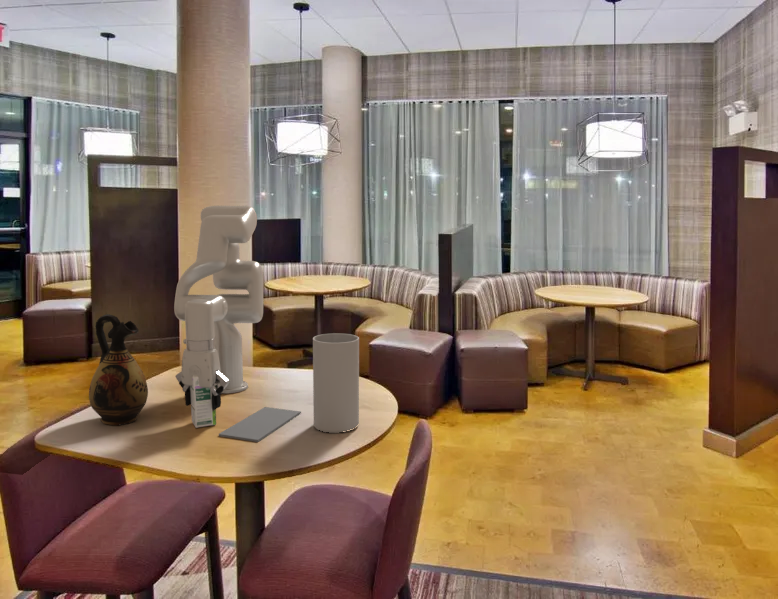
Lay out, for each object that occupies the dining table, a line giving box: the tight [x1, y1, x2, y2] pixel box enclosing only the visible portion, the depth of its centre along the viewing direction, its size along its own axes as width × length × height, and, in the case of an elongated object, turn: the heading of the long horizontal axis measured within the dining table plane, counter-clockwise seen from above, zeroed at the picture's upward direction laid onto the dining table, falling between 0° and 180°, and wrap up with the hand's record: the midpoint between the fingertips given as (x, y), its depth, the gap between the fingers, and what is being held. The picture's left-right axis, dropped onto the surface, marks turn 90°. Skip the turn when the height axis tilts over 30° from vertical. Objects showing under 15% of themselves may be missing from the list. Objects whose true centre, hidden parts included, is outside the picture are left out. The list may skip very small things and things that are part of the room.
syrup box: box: [190, 376, 217, 429], centre depth 175 cm, size 6×6×14 cm
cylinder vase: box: [312, 332, 360, 434], centre depth 174 cm, size 12×12×25 cm
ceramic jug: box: [88, 313, 149, 427], centre depth 177 cm, size 17×15×30 cm
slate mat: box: [218, 406, 302, 443], centre depth 176 cm, size 12×24×1 cm, turn 161°
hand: (203, 405), depth 175 cm, fingers closed on syrup box, 8 cm apart
